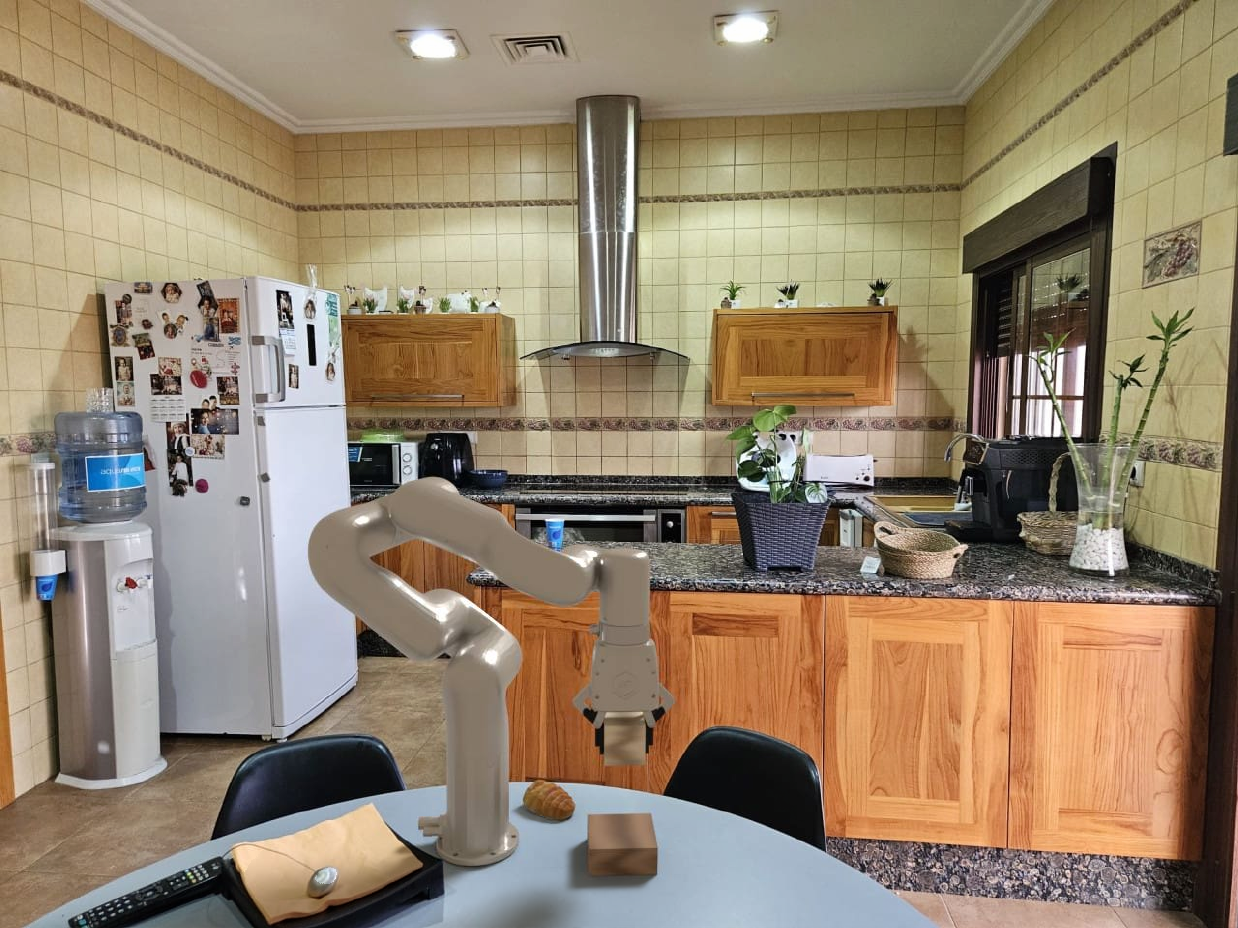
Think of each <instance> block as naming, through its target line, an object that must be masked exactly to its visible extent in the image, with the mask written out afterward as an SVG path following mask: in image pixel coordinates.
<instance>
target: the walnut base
mask: <svg viewBox="0 0 1238 928" xmlns="http://www.w3.org/2000/svg"><path fill="white" fill-rule="evenodd" d="M654 827H655V826H654V822H653V817H652V813H651V812H635V813H593V814H592V813H589V814H588V813H587V860H588V861H587V862H588V863H587V865H588V876H589V877H593V876H595V877H599V876H600V877H601V876H634V875H635V876H637V875H639V876H640V875H644V876H645V875H658V861H659V860H658V858H659V857H658V855H659V847H658V842H657V838H656V833H655V828H654Z"/></svg>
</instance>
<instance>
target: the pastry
mask: <svg viewBox="0 0 1238 928" xmlns="http://www.w3.org/2000/svg"><path fill="white" fill-rule="evenodd" d="M522 803H523V805H524V806H525V808H526V809H527V811H530V812H531V813H532V814H534V813H535V814H534V815H537V814H538V815H537V816H540V815H541V817H542V816H544V817H543V818H546V817H548V818H547V819H550V818H551V820H560V821H561V820H563V821H564V820H565V819H568V818H569V817H571V816H572V815H574V812H575V810H576V808H577V807H576V803H575V802H574V800H573V797H572V796H570V795H569V793H568V792H567V791H566V790H564V789H563V788H562V786H560V785H558V784H556V783H554V782H547V781H545V780H543V779H538V780H535V781H533V782H532V783H531V784H530V785H529V786H528V787H527V788H526V790H525V793H524V794H523V797H522Z"/></svg>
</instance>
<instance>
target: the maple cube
mask: <svg viewBox="0 0 1238 928" xmlns="http://www.w3.org/2000/svg"><path fill="white" fill-rule="evenodd" d="M644 718H645V717H644V714H643V712H607V713H606V715H605V718H604V720H603V722H604V754H603V762H604V767H619V766H621V767H622V766H625V767H626V766H627V767H628V766H646V754H645V750H646V724H645V720H644Z"/></svg>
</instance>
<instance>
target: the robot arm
mask: <svg viewBox="0 0 1238 928" xmlns="http://www.w3.org/2000/svg"><path fill="white" fill-rule="evenodd" d="M415 539H417V540H420V541H422V542H424V543H426V544H430V545H432V546H435V547H436V548H439V549H441V550H444V551H447V552H449V553H452V554H453V555H456V556H458V557H461V558H463V559H466V560H468V561H469V562H473V563H474V564H476V565H478V566H479V567H480V568H482V570H484V571H485V572H486V573H488V574H489V575H491V576H492V577H494V578H495V579H496V580H498V581H499V582H501V584H502V583H503V584H504V585H505V586H508V587H509V588H511V589H513V590H514V591H515V590H516V591H517V592H519V593H522V594H524V595H527V596H529V597H532V598H533V599H536V600H539V601H542V602H544V603H546V604H549V605H552V606H556V607H562V608H568V607H569V608H570V607H574V606H578V605H579V604H581V603H583V601H585V600H586V599H587V597H588V596H589V595H590V594H592V593H594V592H597V593H598V595H599V596H598V597H599V599H598V600H599V603H598V604H599V605H598V609H599V611H598V612H599V613H598V614H599V616H598V622H596V623H594V624H589V635H594V636H597V637H598V638H597V639H595V640H594V645H593V649H592V656H591V664H590V675H589V676H590V680H589V682H588V683H587V684H586V685H585V686H584V687H583V688H582V689H581V690H580V691H579V692H578V693H577V694H576V695H575V696H574V697H573V698H572V705H573V707H574V708H576V710H578V712H580V713H581V714H582V715H583V717H585V719H586V720H588V722H590V723H591V725H592V726H593V728H594V748H595V747H599V755H600V756H601V755H603V756H604V722H603V720H604V718H605V715H606V713H607V712H643V716H644V720H645V724H646V750H645V755H646V754H650V746H654V727H655V726H656V723H657V722H659V721H660V719H662V717H663V716H664V715H665V714H666V712H668V711H669V710H670V709H671V708H672V707H674V705H675V704H676V699H675V697H674V695H673V694H672V693H671V692H670V691H669V690H668V689H666V687H665V686H664V685H663V684H662V683H661V682H659V681H660V679H659V663H658V655H657V649H656V648H657V647H656V643H655V641H654V640H653V639H652V638H650V627H651V626H650V622H651V621H650V618H651V617H650V612H651V611H650V608H651V603H650V601H651V598H650V597H651V590H650V589H651V561H650V557H649V555H648V553H647V552H646V551H644V550H642V549H637V548H629V547H628V548H627V547H622V548H621V547H619V548H618V547H617V548H611V549H610V548H603V547H597V546H591V545H586V544H573V545H572V544H571V545H568V546H565V547H563V548H562V549H561V550H560V551H558V550H555V549H552V548H549V547H546V546H544V545H542V544H539V543H537V542H535V541H533V540H531V539H530V538H527V537H526V536H524V535H522V534H520V533H519V532H518V531H517V530H515V529H514V528H513V527H512V526H511V524H510V523H509V522H508V519H507V518H506V516H505V515H504V514H503V513H501V512H500V511H499V510H497V509H495V508H494V507H493V508H492V507H490V506H487V505H484V504H482V503H480V502H477V501H474V500H472V499H470V498H469V497H468V498H467V497H465V496H463V495H460V491H459V490H458V489H457V487H456V486H455V484H453V483H452V482H450V481H449V480H447V479H445V478H443V477H438V476H437V477H436V476H427V477H423V478H419V479H414V480H410V481H407V482H405V483H403V484H402V485H400V486H399V487H398V488H397V489H396V490H395V491H394V492H392V493H390V494H387V495H385V496H382V497H379V498H375V499H374V500H371V501H369V502H365V503H361V504H357V505H353V506H348V507H344V508H341V509H338V510H335V511H333V512H331V513H329V514H327V515H325V516H323V518H321V519H320V520H319V521H318V522H317V523H316V524H315V526H314V527H313V529H312V531H311V533H310V536H309V539H308V543H307V558H308V563H309V569H310V570H311V574H312V577H313V578H314V580H315V581H316V583H317V585H318V586H319V587H320V588H321V589H322V590H323V591H324V592H325V593H326V594H327V596H329V597H330V598H332V600H334V601H335V602H337V603H338V604H339V605H340V606H341V607H343V608H344V609H346V610H347V611H349V612H350V613H352V614H353V615H354V616H355V617H357V618H358V619H359V620H361V621H362V622H363V623H364V624H365V625H366V626H368V627H369V628H370V629H371V630H372V631H373V632H375V633H376V634H377V635H379V636H380V637H381V638H383V639H384V640H386V642H387V643H388V644H390V645H391V646H393V647H394V648H395V649H396V650H398V651H399V652H400V653H402V654H403V655H404V656H406V657H407V658H409V659H410V660H412V661H414V662H417V663H428V662H430V661H433V660H435V659H437V658H440V656H441V655H443V654H447V655H448V656H449V657H450V658H449V660H448V662H447V663H446V665H445V667H444V669H443V673H442V675H441V676H442V677H441V684H440V685H441V687H440V688H441V690H440V691H441V695H442V696H441V699H442V705H443V709H444V721H445V753H446V754H445V757H446V758H445V761H446V764H445V767H446V772H445V773H446V775H445V777H446V779H445V780H446V787H445V788H446V789H445V791H446V793H445V794H446V811H445V814H444V813H443V814H439V816H419V817H418V821H417V829H418V831H422V837H423V838H427V837H428V838H429V837H430V838H431V837H437V838H436V840H435V841H436V843H435V844H436V846H435V848H436V852H437V853H438V855H439V857H440V858H441V859H443V860H444V861H447V862H448V863H451V864H453V865H457V866H461V867H462V866H463V867H479V866H486V865H491V864H494V863H497V862H500V861H502V860H504V859H506V858H507V857H509V856H511V855H512V854H513V853H514V851H515V850H517V848H518V846H519V842H520V838H519V837H520V833H519V831H518V829H517V827H516V826H515V825H514V824H512V823H511V822H510V744H509V743H510V741H509V739H510V730H509V729H510V728H509V726H510V725H509V716H508V715H509V714H508V708H507V701H506V697H507V696H506V695H507V689H508V688H509V686H510V684H511V683H512V682H513V680H515V678H516V676H517V675H518V674H519V671H520V669H521V667H522V662H523V651H522V647H521V645H520V643H519V641H518V640H517V638H516V637H515V636H514V634H513V633H512V632H510V630H508V629H507V628H506V627H504V626H503V624H500V623H499V622H498V621H497V620H495V619H494V617H491V616H490V615H489V614H488V613H487V612H486V611H484V610H483V609H481V608H480V607H479V606H478V605H477V604H475V603H474V602H472V601H471V600H469V598H467V597H466V596H464V595H462V594H461V593H460V592H458V591H457V592H456V591H454V590H451V589H447V588H435V589H432V590H428V591H426V592H424V593H421V592H420V591H419V590H417V589H415V588H414V587H413V586H411V584H408V583H407V582H406V581H405V580H404V579H403V578H401V576H399V575H398V574H396V573H395V572H393V571H392V570H389V569H388V568H385V567H383V566H381V565H379V564H377V563H376V562H375V561H373V560H372V559H371V557H374V556H376V555H379V554H380V553H383V552H386V551H387V550H390V549H392V548H395V547H398V546H400V545H402V544H405V543H407V542H411V541H413V540H415ZM588 698H589V701H590V705H588V704H587V703H586V701H587V699H588ZM660 698H661V699H662V701H661V703H660Z"/></svg>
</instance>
